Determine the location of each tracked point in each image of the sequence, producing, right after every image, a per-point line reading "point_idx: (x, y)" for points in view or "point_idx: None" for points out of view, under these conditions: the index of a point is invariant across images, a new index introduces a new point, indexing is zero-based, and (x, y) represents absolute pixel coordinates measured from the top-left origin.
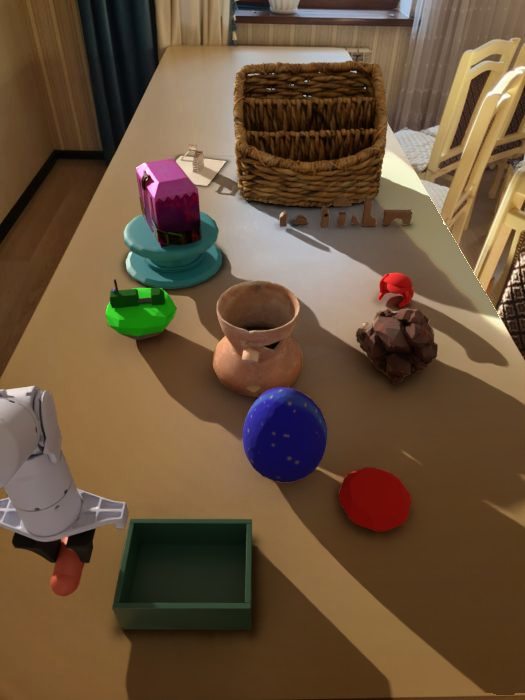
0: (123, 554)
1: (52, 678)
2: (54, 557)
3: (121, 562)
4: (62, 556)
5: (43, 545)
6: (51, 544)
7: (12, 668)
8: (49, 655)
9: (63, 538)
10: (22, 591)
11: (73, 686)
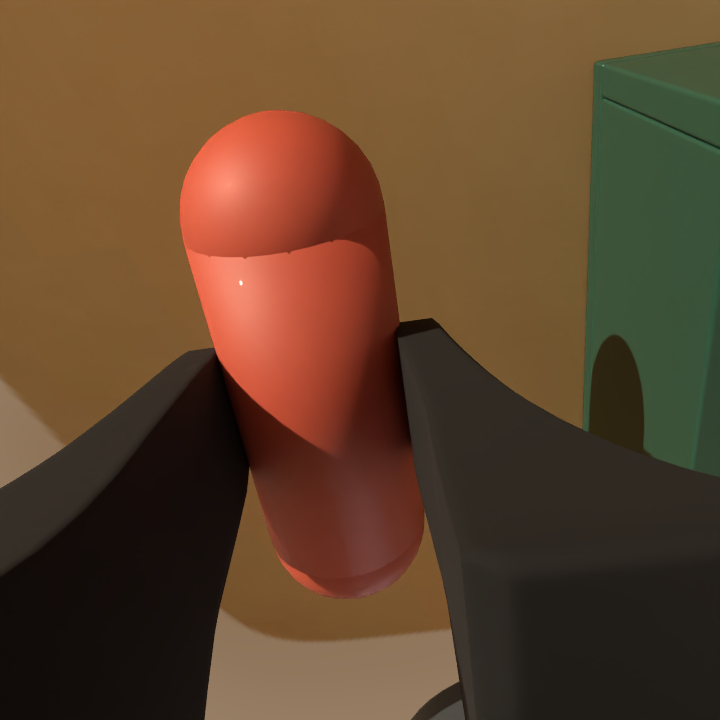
0: (705, 406)
1: (380, 607)
2: (239, 486)
3: (692, 448)
4: (293, 486)
5: (191, 701)
6: (200, 522)
7: (237, 602)
8: None
9: (223, 353)
10: (102, 398)
11: None
